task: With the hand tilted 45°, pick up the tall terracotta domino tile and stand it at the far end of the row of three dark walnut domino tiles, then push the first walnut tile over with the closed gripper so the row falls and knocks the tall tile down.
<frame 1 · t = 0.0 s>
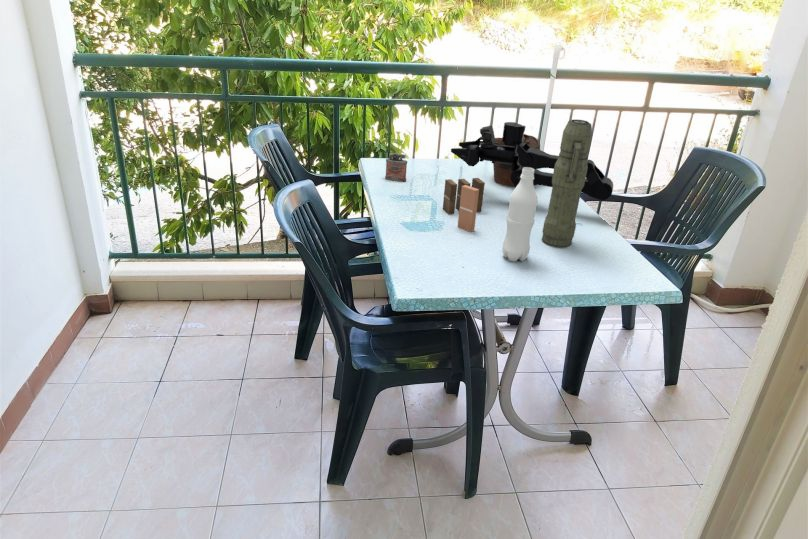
hand: (455, 147, 191), 17 cm above the table, tool horizontal, fingers open, 9 cm apart
end tile: (465, 228, 170), on the table
tile 2: (461, 210, 184), on the table
water bottle: (514, 258, 154), on the table
tile 3: (448, 211, 182), on the table
case: (511, 182, 214), on the table
lighter: (395, 180, 209), on the table
thermos: (556, 242, 165), on the table
tile 1: (475, 209, 185), on the table
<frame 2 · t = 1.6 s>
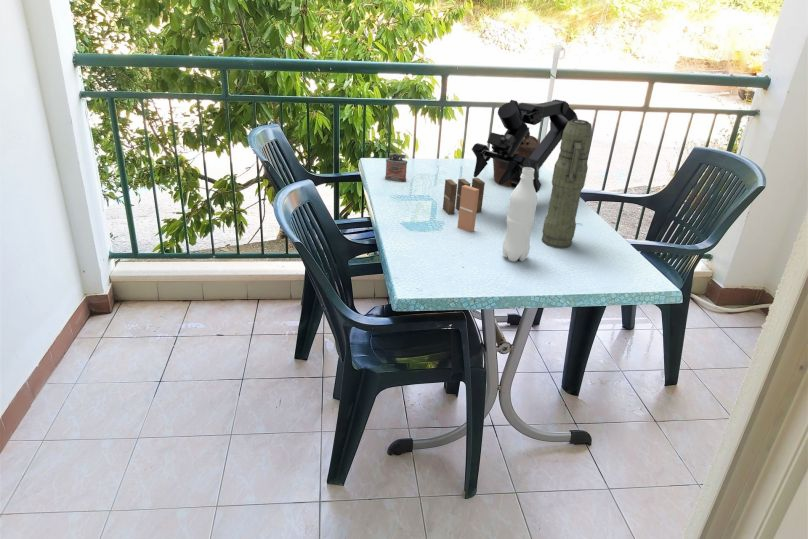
hand: (486, 180, 169), 14 cm above the table, tool tilted 45°, fingers open, 9 cm apart
nothing on the table moved.
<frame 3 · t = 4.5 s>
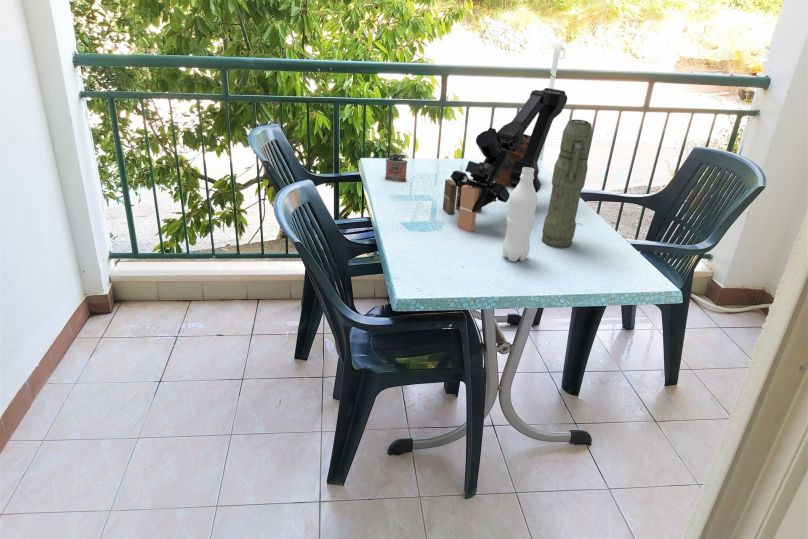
hand: (465, 209, 166), 7 cm above the table, tool tilted 45°, fingers closed on end tile, 5 cm apart
end tile: (465, 228, 170), on the table, touching gripper
everything else where it was.
when the fingers open (8 cm above the table, at t = 9.0 s): end tile drops 1 cm, on the table.
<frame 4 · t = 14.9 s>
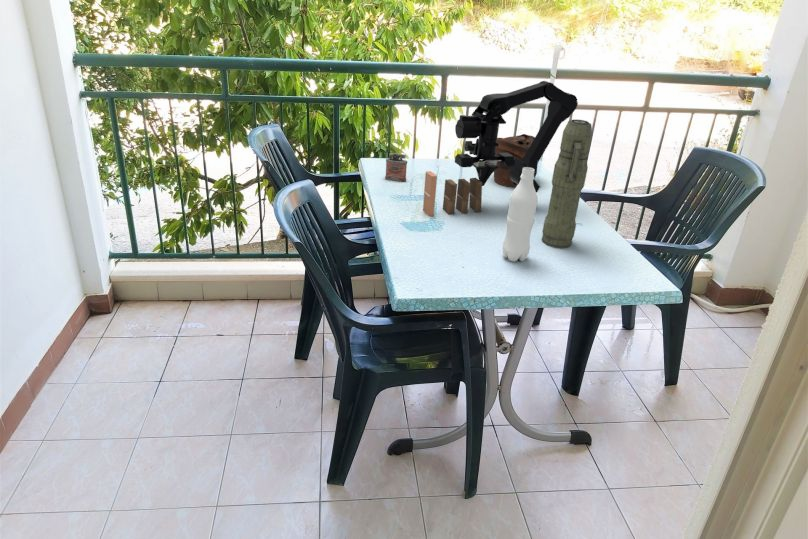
hand: (481, 185, 182), 8 cm above the table, tool pointing down, fingers closed
end tile: (428, 213, 180), on the table
tile 1: (475, 209, 185), on the table, tilted 6°, touching gripper
everything else where it was.
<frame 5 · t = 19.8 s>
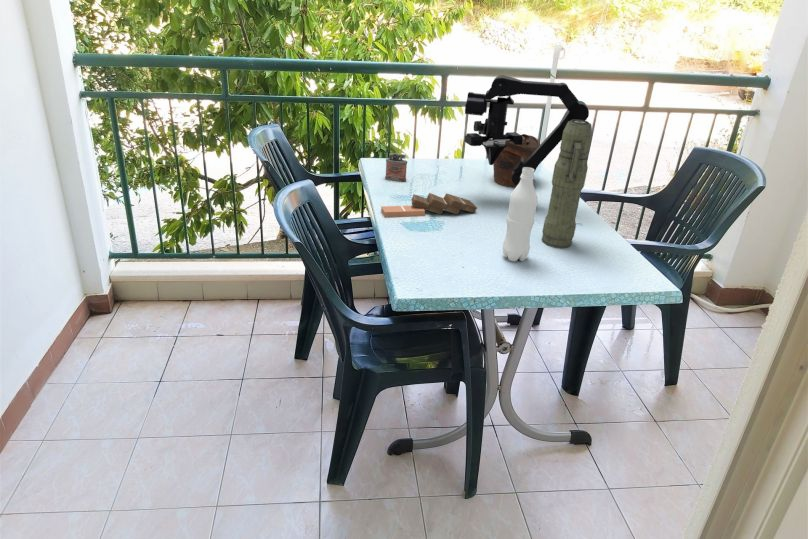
hand: (490, 164, 187), 13 cm above the table, tool pointing down, fingers closed
end tile: (422, 210, 180), point 1 cm above the table, tilted 90°
tile 2: (456, 209, 181), point 1 cm above the table, tilted 68°, touching tile 3
tile 3: (442, 209, 181), point 1 cm above the table, tilted 74°, touching tile 2
tile 1: (472, 206, 184), point 1 cm above the table, tilted 70°
everything else where it was.
at the end: tile 1 tilted 70°; end tile tilted 89°; end tile inside the target area (1.3 cm from its centre), point 0.7 cm above the table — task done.
